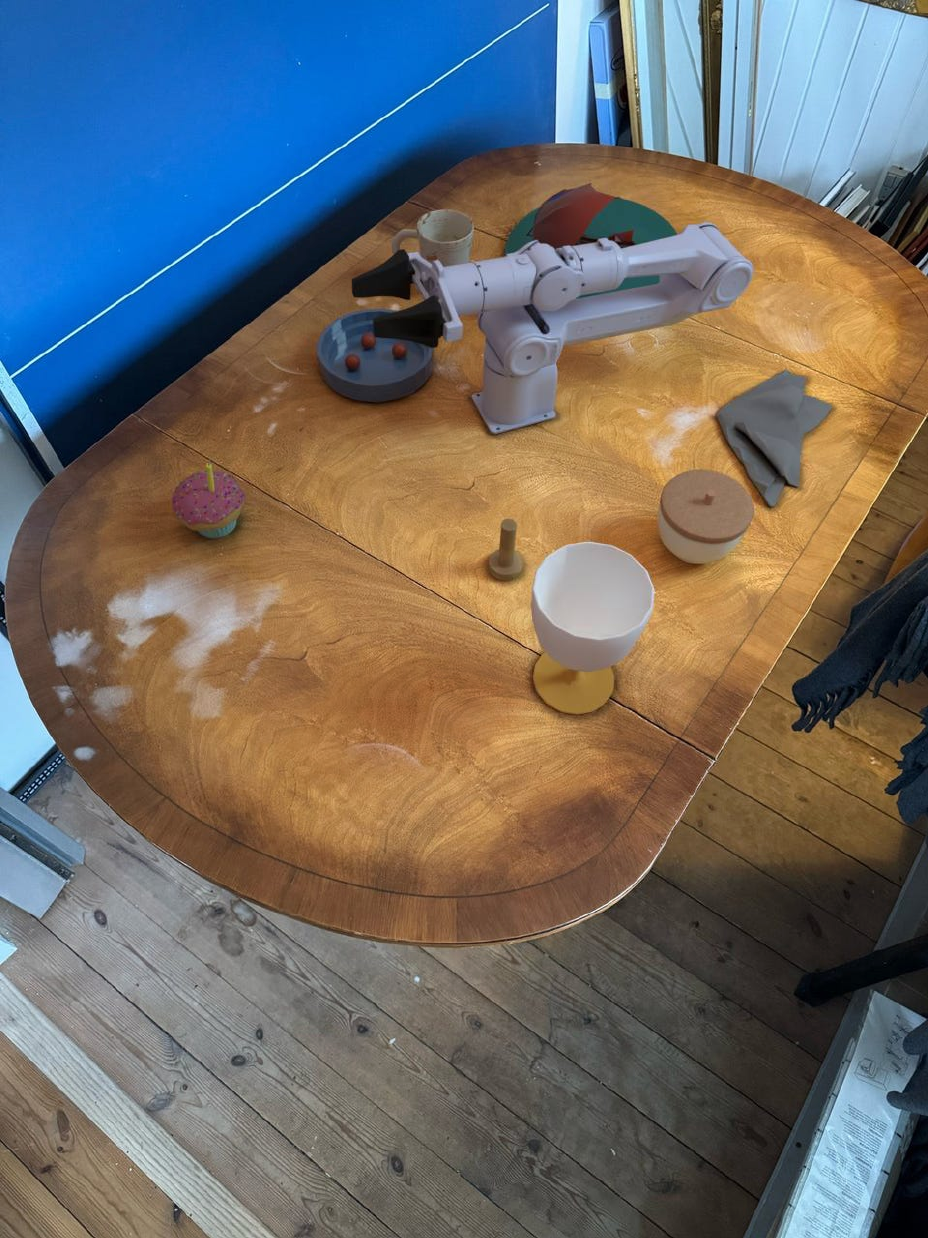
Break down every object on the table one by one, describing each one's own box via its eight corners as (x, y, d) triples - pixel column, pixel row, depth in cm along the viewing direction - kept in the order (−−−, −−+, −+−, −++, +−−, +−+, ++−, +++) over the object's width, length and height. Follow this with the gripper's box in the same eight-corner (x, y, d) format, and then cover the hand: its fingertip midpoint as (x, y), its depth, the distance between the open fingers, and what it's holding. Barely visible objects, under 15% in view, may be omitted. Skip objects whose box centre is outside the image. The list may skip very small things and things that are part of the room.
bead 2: (374, 340, 130) (372, 328, 128) (378, 350, 128) (377, 337, 127) (359, 344, 129) (358, 331, 127) (364, 353, 128) (362, 341, 126)
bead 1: (358, 361, 127) (357, 349, 125) (363, 371, 126) (361, 358, 124) (343, 365, 127) (342, 352, 125) (348, 375, 125) (346, 362, 124)
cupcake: (262, 508, 112) (244, 439, 102) (231, 559, 108) (208, 492, 98) (201, 491, 114) (177, 421, 104) (168, 540, 109) (139, 472, 99)
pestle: (514, 550, 109) (518, 507, 102) (527, 575, 107) (532, 532, 100) (483, 559, 108) (485, 516, 101) (496, 584, 106) (499, 542, 99)
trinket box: (633, 527, 111) (646, 475, 103) (705, 501, 114) (724, 448, 106) (678, 590, 106) (696, 541, 98) (754, 562, 108) (777, 511, 101)
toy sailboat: (514, 201, 151) (513, 137, 141) (682, 207, 148) (693, 142, 138) (494, 315, 137) (492, 254, 128) (679, 325, 134) (691, 262, 124)
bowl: (411, 318, 133) (410, 298, 130) (450, 387, 125) (450, 368, 122) (306, 343, 130) (303, 323, 127) (339, 416, 122) (336, 396, 119)
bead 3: (404, 350, 129) (404, 337, 127) (409, 359, 127) (409, 347, 126) (390, 353, 128) (389, 341, 126) (395, 363, 127) (394, 350, 125)
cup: (549, 741, 95) (566, 658, 80) (503, 655, 100) (511, 562, 86) (645, 703, 97) (678, 615, 83) (594, 621, 103) (617, 526, 89)
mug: (466, 305, 135) (467, 245, 127) (386, 294, 137) (382, 234, 128) (477, 272, 140) (478, 212, 131) (399, 262, 141) (396, 202, 133)
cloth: (749, 359, 129) (754, 346, 127) (843, 391, 125) (849, 378, 124) (684, 474, 116) (687, 461, 114) (785, 514, 113) (791, 502, 111)
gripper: (453, 222, 105) (342, 239, 101) (502, 294, 97) (384, 315, 94) (449, 275, 110) (344, 293, 107) (495, 348, 103) (384, 369, 99)
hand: (363, 307), depth 100 cm, fingers open, 7 cm apart
